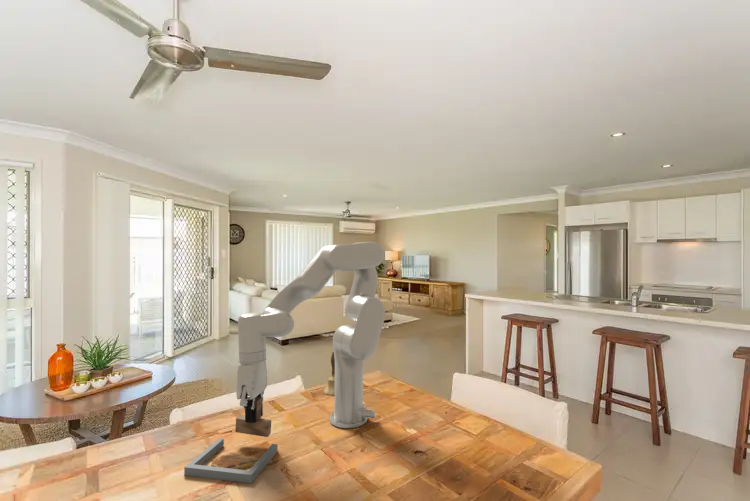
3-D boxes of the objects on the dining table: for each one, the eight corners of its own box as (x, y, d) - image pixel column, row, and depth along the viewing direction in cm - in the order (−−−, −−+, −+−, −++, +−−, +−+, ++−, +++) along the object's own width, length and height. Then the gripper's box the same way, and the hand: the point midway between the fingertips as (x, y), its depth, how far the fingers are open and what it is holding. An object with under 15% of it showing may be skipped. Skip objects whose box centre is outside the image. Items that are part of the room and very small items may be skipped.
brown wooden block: (271, 432, 105) (273, 398, 105) (266, 438, 102) (268, 403, 102) (239, 427, 107) (241, 394, 107) (234, 432, 104) (236, 398, 104)
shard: (261, 465, 95) (261, 458, 95) (241, 482, 88) (241, 475, 88) (229, 457, 98) (229, 450, 99) (207, 472, 91) (207, 465, 91)
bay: (277, 451, 101) (277, 444, 101) (251, 483, 86) (251, 474, 86) (218, 445, 104) (218, 438, 104) (184, 475, 89) (184, 467, 89)
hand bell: (319, 391, 146) (319, 351, 147) (336, 386, 152) (336, 348, 152) (331, 397, 140) (331, 356, 140) (348, 391, 146) (348, 352, 146)
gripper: (254, 348, 113) (256, 406, 113) (224, 364, 97) (226, 432, 97) (276, 348, 112) (278, 407, 112) (250, 365, 96) (252, 434, 96)
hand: (254, 418), depth 104 cm, fingers closed on brown wooden block, 3 cm apart
